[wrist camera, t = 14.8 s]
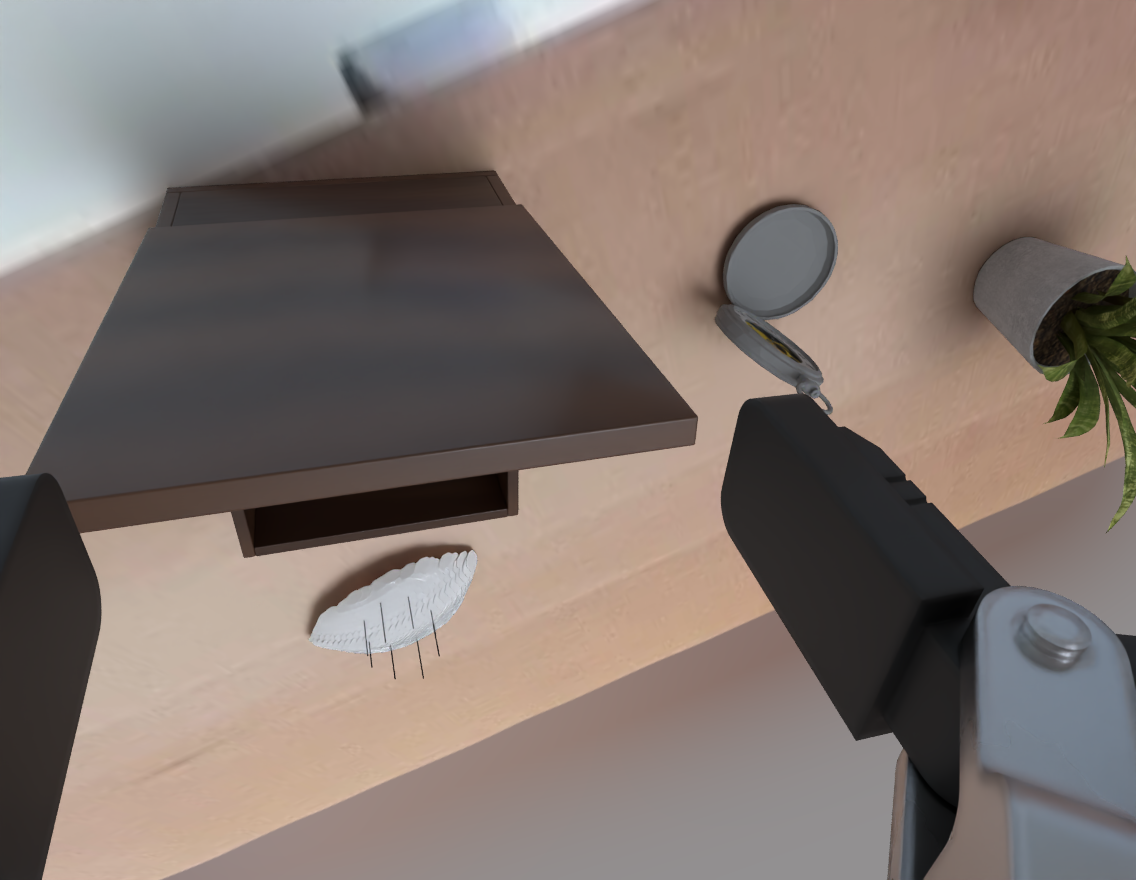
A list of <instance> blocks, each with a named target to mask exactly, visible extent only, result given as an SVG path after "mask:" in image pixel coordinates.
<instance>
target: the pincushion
mask: <svg viewBox="0 0 1136 880" xmlns="http://www.w3.org/2000/svg"><path fill="white" fill-rule="evenodd" d="M476 565H477V555H476V553H475V552H474V551H473V550H471V551H470V552H468V555H467V552H466V551H464V552H462V553H460V554H459V556H458V553H456V552H455V553H453V554H451V553H450V552H448V553H446V554H444V555H443V556H442V557H441V559H438V558H436V559H435V558H434V557H431V558H428V557H424V558H421V559H420V560H419V561H418V562H417V563H414V562H413V563H410V564H407V565H406V566H405V567H404V568H402V569H401V570H399V569H393V570H391V571H389V572H387V573H386V574H384V575H383V576H381V577H379V578H378V579H376V580H374V581H373V582H372V584H371V585H369V586H364V587H362V588H360V589H359V590H354V591H353V592H352V593H350V594H349V595H348V597H347V598H345V599H344V600H342V601H341V602H340V603H339V604H338V605H337V606H332V607H330V608H329V609H327V610H326V611H325V612H324V613H322V614H321V615H320V617H319V618H318V621H317V624H316V626H315V627H314V629H313V630H312V631H313V633H312V634H311V637H310V638H309V641H310V642H313V644H314V645H315V646H318V647H322V648H327V649H332V650H341V651H346V652H348V653H349V652H353V653H355V654H356V653H360V654H361V653H364V654H367V656H368V654H369V653H370V659H371V668H372V658H371V653H378V652H381V653H383V652H388V651H391V655H392V650H395V649H399V648H402V647H406V646H408V645H410V644H413V643H414V642H417V645H418V641H419V640H420V639H421V638H422V639H423V638H424V637H425V636H427V635H430V634H431V633H432V632H434V634H435V639H436V632H435V631H436V630H437V629H438V628H440V627H441V626H442V625H443V624H446V623H447V622H448V621H449V620H450V618H451V617H452V615H454V614H455V612H456V611H457V610H458V608H459V606H460V605H461V603H462V602H463V600H464V596H465V594H466V592H467V590H468V588H469V586H470V584H471V581H472V578H473V575H474V572H475V568H476ZM436 621H437V622H436ZM435 622H436V623H435ZM417 634H418V635H417ZM436 644H437V639H436ZM437 649H438V644H437ZM418 651H419V646H418ZM438 655H439V649H438ZM439 656H440V655H439ZM419 658H420V652H419ZM392 663H393V655H392ZM420 664H421V658H420ZM393 670H394V663H393ZM421 670H422V664H421ZM422 676H423V670H422ZM394 678H395V670H394ZM423 678H424V676H423ZM395 679H396V678H395Z"/></svg>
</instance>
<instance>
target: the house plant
mask: <svg viewBox="0 0 1136 880" xmlns="http://www.w3.org/2000/svg"><path fill="white" fill-rule="evenodd" d="M974 302H975V304H976V306H977V308H978V309H979V310H980V311H981V312H982V313H983V314H984V315H985V316H986V317H987V318H988V319H989V320H990V322H991V323H992V324H993V325H994V326H995V327H996V328H997V329H998V330H999V331H1000V332H1001V333H1002V334H1003V336H1004V337H1005V338H1006V339H1007V340H1008V341H1009V342H1010V343H1011V344H1012V345H1013V346H1014V347H1015V348H1016V349H1017V351H1018V352H1019V353H1020V354H1021V355H1022V356H1023V357H1024V358H1025V359H1026V360H1027V361H1028V362H1029V363H1030V365H1031V366H1032V367H1033V368H1035V369H1036V370H1037V371H1038V372H1039V373H1041V374H1044V375H1045V377H1046V380H1049V381H1051V382H1053V381H1059V380H1060V379H1062V378H1064V377H1065V376H1066V375H1067V374H1070V375H1069V379H1068V381H1067V384H1066V386H1065V389H1064V391H1063V393H1062V395H1061V397H1060V399H1059V402H1058V404H1057V406H1056V409H1055V411H1054V414H1053V416H1052V418H1051V419H1050V420H1049V421H1048V422H1047V423H1050V422H1053V421H1056V420H1060V419H1063V418H1065V417H1067V416H1068V415H1069V414H1070V413H1072V412H1073V411H1074V410H1075V408H1076V407H1077V406H1078V408H1077V411H1076V413H1075V416H1074V418H1073V420H1072V421H1071V423H1070V425H1069V427H1068V429H1067V431H1066V433H1065V435H1064V436H1063V437H1060V438H1067V437H1074V436H1080V435H1082V434H1084V433H1086V432H1088V431H1090V430H1091V429H1092V428H1093V427H1094V426H1095V425H1096V423H1097V421H1098V419H1099V413H1100V394H1099V387H1100V390H1101V392H1102V396H1103V400H1104V404H1105V413H1106V432H1107V450H1106V457H1105V463H1106V458H1107V454H1108V450H1109V446H1110V431H1109V403H1108V398H1109V401H1110V403H1111V406H1112V408H1113V411H1114V413H1115V415H1116V418H1117V420H1118V424H1119V428H1120V432H1121V435H1122V440H1123V445H1124V451H1125V460H1126V461H1125V462H1126V467H1125V480H1124V491H1123V498H1122V502H1121V506H1120V507H1119V509H1118V511H1117V513H1116V514H1115V516H1114V518H1113V519H1112V521H1111V524H1110V527H1109V529H1108V531H1109V530H1110V529H1111V528H1112V527H1113V526H1114V525H1115V524H1116V523H1117V522H1118V521H1119V519H1120V518H1121V517H1122V516H1123V515H1124V514H1125V512H1126V511H1127V509H1128V508H1129V507H1130V505H1131V503H1132V502H1133V500H1134V498H1135V496H1136V433H1135V431H1134V428H1133V426H1132V424H1131V421H1130V418H1129V416H1128V413H1127V410H1126V407H1125V405H1124V402H1123V400H1122V398H1121V395H1120V393H1121V394H1122V396H1123V397H1124V398H1125V399H1126V400H1127V401H1128V402H1130V403H1131V404H1132V405H1133V406H1134V407H1135V408H1136V391H1135V390H1134V389H1133V388H1132V387H1131V385H1132V386H1133V387H1134V388H1135V389H1136V340H1135V339H1132V338H1130V337H1133V338H1136V272H1135V271H1134V270H1133V269H1132V267H1131V265H1130V263H1129V261H1128V258H1127V256H1126V264H1125V265H1122V264H1119V263H1115V262H1112V261H1109V260H1105V259H1102V258H1099V257H1096V256H1092V255H1089V254H1086V253H1082V252H1079V251H1076V250H1073V249H1069V248H1066V247H1063V246H1060V245H1056V244H1053V243H1050V242H1046V241H1043V240H1040V239H1037V238H1033V237H1023V238H1019V239H1016V240H1013V241H1011V242H1009V243H1007V244H1005V245H1003V246H1002V247H1001V248H1000V249H998V250H997V251H996V252H995V253H993V255H992V256H991V257H990V258H989V259H988V260H987V261H986V262H985V264H984V265H983V267H982V268H981V270H980V271H979V273H978V276H977V279H976V282H975V288H974ZM1090 364H1091V365H1092V368H1093V370H1094V373H1095V376H1096V378H1097V381H1098V384H1099V387H1098V384H1097V381H1096V379H1095V377H1094V374H1093V372H1092V370H1091V367H1090ZM1117 373H1119V374H1120V375H1121V377H1122V378H1123V379H1124V380H1127V383H1126V382H1125V381H1124V380H1123V379H1122V378H1121V377H1120V376H1119V375H1118V374H1117ZM1119 392H1120V393H1119ZM1107 396H1108V397H1107ZM1078 404H1079V405H1078ZM1044 424H1046V423H1044ZM1104 466H1105V465H1104ZM1106 533H1107V532H1106Z"/></svg>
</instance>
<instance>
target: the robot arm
mask: <svg viewBox="0 0 1136 880" xmlns="http://www.w3.org/2000/svg"><path fill="white" fill-rule="evenodd" d="M721 509H722V515H723V520H724V523H725V526H726V529H727V531H728V534H729V536H730V537H731V539H732V541H733V542H734V544H735V546H736V547H737V549H738V550H739V552H740V554H741V555H742V557H743V559H744V560H745V562H746V563H747V565H748V567H749V568H750V570H751V571H752V573H753V575H754V576H755V578H756V580H757V581H758V583H759V584H760V586H761V588H762V589H763V591H764V593H765V594H766V596H767V597H768V599H769V601H770V602H771V604H772V605H773V607H774V609H775V610H776V612H777V614H778V615H779V617H780V618H781V620H782V622H783V623H784V625H785V627H786V628H787V630H788V631H789V633H790V634H791V636H792V638H793V639H794V641H795V643H796V644H797V646H798V647H799V649H800V651H801V652H802V654H803V656H804V657H805V659H806V661H807V662H808V664H809V665H810V667H811V669H812V670H813V671H814V673H815V675H816V677H817V678H818V680H819V681H820V683H821V685H822V686H823V688H824V690H825V691H826V693H827V694H828V696H829V698H830V699H831V701H832V703H833V704H834V706H835V707H836V709H837V711H838V712H839V714H840V716H841V717H842V719H843V720H844V722H845V724H846V725H847V727H848V728H849V730H850V732H851V733H852V735H853V737H854V738H855V740H856V741H857V740H861V739H866V738H870V737H875V736H879V735H883V734H888V733H892V732H893V733H894V735H895V736H896V738H897V739H898V741H899V742H900V744H901V745H902V747H903V750H902V751H901V754H900V756H899V758H898V760H897V764H896V772H895V785H894V799H893V812H892V824H891V838H890V852H889V864H888V878H887V880H1136V636H1131V635H1121V634H1115V633H1114V632H1113V631H1112V630H1111V629H1110V628H1109V627H1108V626H1107V625H1106V624H1105V623H1104V622H1103V621H1102V620H1100V619H1099V618H1098V617H1097V616H1096V615H1094V614H1093V613H1091V612H1090V611H1088V610H1087V609H1085V608H1084V607H1083V606H1081V605H1079V604H1077V603H1075V602H1073V601H1072V600H1070V599H1067V598H1065V597H1063V596H1060V595H1058V594H1055V593H1052V592H1050V591H1047V590H1042V589H1038V588H1034V587H1026V586H1010V585H1009V584H1008V583H1007V582H1006V581H1005V580H1004V578H1002V576H1001V575H1000V574H999V573H998V572H997V571H996V570H995V569H994V568H993V567H992V566H991V565H990V564H989V563H988V562H987V560H986V559H985V558H984V557H983V556H982V555H981V554H980V553H979V552H978V551H977V550H976V549H975V548H974V547H973V546H972V545H971V544H970V542H969V541H968V540H967V539H966V538H965V537H964V536H963V535H962V534H961V533H960V532H959V531H958V530H957V529H956V528H955V527H954V526H953V524H952V523H951V522H950V521H949V520H948V519H947V518H946V517H945V516H944V515H943V514H942V513H941V512H940V511H939V510H938V509H937V508H936V506H935V505H934V504H933V503H927V501H926V496H925V495H924V494H923V493H922V492H921V491H920V490H919V489H918V487H917V486H916V485H915V484H914V483H913V482H912V481H911V480H909V481H907V480H906V478H905V474H904V473H903V472H902V471H901V469H900V468H899V467H898V466H897V465H896V464H895V463H894V462H893V461H892V460H891V459H890V458H889V457H888V456H887V455H886V454H885V453H884V451H883V450H882V449H881V448H879V447H878V446H876V445H874V444H873V443H871V442H869V441H868V440H866V439H864V438H863V437H861V436H859V435H858V434H856V433H855V432H853V431H851V430H850V429H848V428H846V427H845V426H844V427H837V425H836V424H835V423H834V422H833V421H832V420H831V419H830V418H829V417H828V415H827V414H826V413H825V412H824V411H823V410H822V409H821V408H820V407H819V406H818V404H817V403H816V402H815V401H814V400H813V399H812V398H811V397H810V396H808V395H806V394H803V393H800V394H790V395H781V396H771V397H762V398H753V399H749V400H747V401H745V402H744V404H743V405H742V407H741V409H740V412H739V415H738V419H737V424H736V428H735V432H734V437H733V441H732V446H731V450H730V454H729V459H728V463H727V468H726V472H725V477H724V481H723V485H722V491H721ZM100 625H101V596H100V589H99V584H98V580H97V576H96V573H95V570H94V568H93V565H92V563H91V560H90V558H89V556H88V553H87V551H86V548H85V546H84V543H83V541H82V538H81V536H80V533H79V531H78V528H77V526H76V524H75V521H74V519H73V516H72V514H71V511H70V509H69V506H68V504H67V501H66V499H65V496H64V494H63V492H62V489H61V487H60V485H59V483H58V482H57V480H56V479H55V478H54V477H53V476H52V475H51V474H49V473H40V474H31V475H22V476H12V477H3V478H0V880H42V876H43V872H44V867H45V863H46V859H47V854H48V850H49V846H50V842H51V837H52V833H53V829H54V824H55V820H56V816H57V812H58V807H59V803H60V799H61V794H62V790H63V786H64V782H65V777H66V773H67V769H68V764H69V760H70V756H71V752H72V747H73V743H74V739H75V734H76V730H77V726H78V722H79V717H80V713H81V709H82V704H83V700H84V696H85V692H86V687H87V683H88V679H89V674H90V670H91V666H92V662H93V657H94V653H95V649H96V645H97V640H98V636H99V631H100Z"/></svg>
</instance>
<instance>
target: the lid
mask: <svg viewBox="0 0 1136 880" xmlns="http://www.w3.org/2000/svg"><path fill="white" fill-rule="evenodd" d="M697 422H698V416H697V415H696V414H695V413H694V411H693V410H692V409H691V408H690V406H689V405H688V404H687V403H686V402H685V400H684V399H683V398H682V397H681V396H680V394H679V393H678V392H677V391H676V390H675V388H674V387H673V386H672V385H671V384H670V382H669V381H668V380H667V379H666V378H665V376H664V375H663V374H662V373H661V372H660V370H659V369H658V368H657V367H656V366H655V364H654V363H653V362H652V361H651V359H650V358H649V357H648V356H647V355H646V353H645V352H644V351H643V350H642V349H641V347H640V346H639V345H638V344H637V343H636V341H635V340H634V339H633V338H632V337H631V335H630V334H629V333H628V332H627V331H626V329H625V328H624V327H623V326H622V325H621V323H620V322H619V321H618V320H617V319H616V317H615V316H614V315H613V314H612V312H611V311H610V310H609V309H608V308H607V306H606V305H605V304H604V303H603V302H602V300H601V299H600V298H599V297H598V296H597V294H596V293H595V292H594V291H593V290H592V288H591V287H590V286H589V285H588V284H587V282H586V281H585V280H584V279H583V278H582V276H581V275H580V274H579V273H578V272H577V270H576V269H575V268H574V267H573V265H572V264H571V263H570V262H569V261H568V259H567V258H566V257H565V256H564V255H563V253H562V252H561V251H560V250H559V249H558V247H557V246H556V245H555V244H554V243H553V241H552V240H551V239H550V238H549V237H548V235H547V234H546V233H545V232H544V231H543V229H542V228H541V227H540V226H539V225H538V223H537V222H536V221H535V220H534V218H533V217H532V216H531V215H530V214H529V212H528V211H527V210H526V209H525V208H524V206H523V205H521V204H519V205H503V206H487V207H471V208H456V209H440V210H424V211H408V212H392V213H376V214H360V215H344V216H328V217H313V218H297V219H281V220H265V221H249V222H233V223H217V224H201V225H185V226H169V227H154V228H149V229H148V231H147V233H146V235H145V237H144V239H143V241H142V243H141V245H140V247H139V249H138V251H137V253H136V255H135V257H134V259H133V261H132V263H131V265H130V267H129V269H128V271H127V273H126V275H125V277H124V279H123V281H122V283H121V285H120V287H119V289H118V291H117V293H116V295H115V297H114V299H113V301H112V303H111V305H110V307H109V309H108V311H107V313H106V315H105V317H104V319H103V321H102V323H101V325H100V327H99V329H98V331H97V333H96V335H95V337H94V339H93V341H92V343H91V345H90V347H89V349H88V351H87V353H86V355H85V357H84V359H83V361H82V363H81V365H80V367H79V369H78V371H77V373H76V375H75V377H74V379H73V381H72V383H71V385H70V387H69V389H68V391H67V393H66V395H65V397H64V399H63V401H62V403H61V405H60V407H59V409H58V411H57V413H56V415H55V417H54V419H53V421H52V423H51V425H50V427H49V429H48V431H47V433H46V435H45V437H44V439H43V441H42V443H41V445H40V447H39V449H38V451H37V453H36V455H35V457H34V459H33V461H32V463H31V465H30V467H29V469H28V471H27V473H26V475H31V474H40V473H49V474H51V475H52V476H53V477H54V478H55V479H56V480H57V482H58V483H59V485H60V487H61V489H62V492H63V494H64V496H65V499H66V501H67V504H68V506H69V509H70V511H71V514H72V516H73V519H74V521H75V524H76V526H77V528H78V531H79V533H85V532H92V531H99V530H106V529H113V528H120V527H127V526H134V525H141V524H148V523H155V522H162V521H169V520H176V519H182V518H189V517H196V516H203V515H210V514H217V513H224V512H231V511H238V510H245V509H252V508H259V507H266V506H273V505H280V504H287V503H294V502H301V501H308V500H314V499H321V498H328V497H335V496H342V495H349V494H356V493H363V492H370V491H377V490H384V489H391V488H398V487H405V486H412V485H419V484H426V483H433V482H440V481H447V480H453V479H460V478H467V477H474V476H481V475H488V474H495V473H502V472H509V471H516V470H523V469H530V468H537V467H544V466H551V465H558V464H565V463H572V462H579V461H586V460H592V459H599V458H606V457H613V456H620V455H627V454H634V453H641V452H648V451H655V450H662V449H669V448H676V447H683V446H690V445H694V444H695V439H696V431H697Z"/></svg>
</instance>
